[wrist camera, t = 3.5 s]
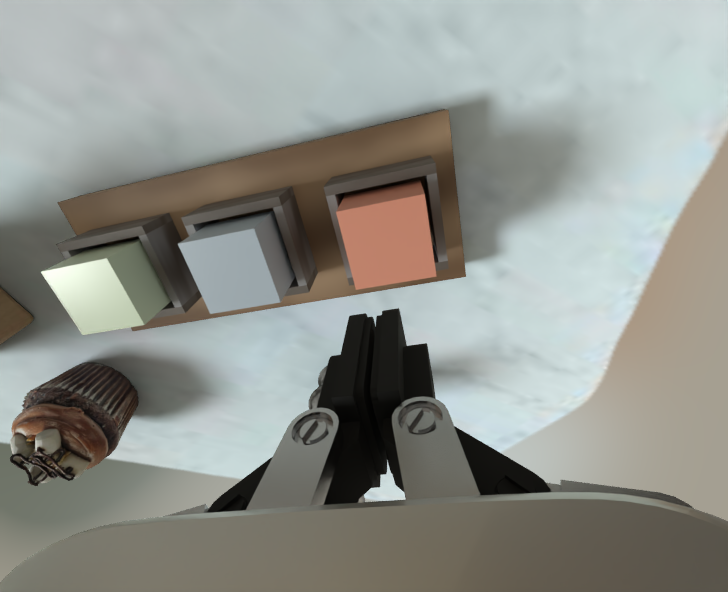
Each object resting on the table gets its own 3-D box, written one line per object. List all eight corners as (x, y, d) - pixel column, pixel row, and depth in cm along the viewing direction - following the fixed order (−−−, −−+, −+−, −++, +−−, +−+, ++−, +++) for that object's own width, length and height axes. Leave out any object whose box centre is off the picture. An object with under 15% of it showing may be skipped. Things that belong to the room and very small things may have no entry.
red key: (344, 196, 24) (335, 211, 21) (420, 180, 24) (424, 194, 20) (360, 264, 27) (355, 289, 23) (430, 252, 26) (436, 276, 22)
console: (81, 195, 31) (16, 214, 26) (443, 109, 26) (456, 111, 21) (148, 317, 36) (106, 354, 31) (460, 264, 31) (474, 297, 26)
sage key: (85, 250, 28) (40, 271, 24) (144, 237, 27) (106, 258, 23) (119, 307, 30) (82, 335, 26) (174, 297, 29) (144, 324, 26)
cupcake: (102, 343, 38) (14, 416, 29) (164, 407, 42) (103, 489, 33) (41, 373, 41) (-56, 448, 32) (105, 431, 45) (34, 513, 36)
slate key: (207, 224, 26) (177, 243, 23) (273, 210, 25) (253, 228, 22) (233, 287, 28) (210, 313, 25) (295, 276, 27) (280, 302, 24)
